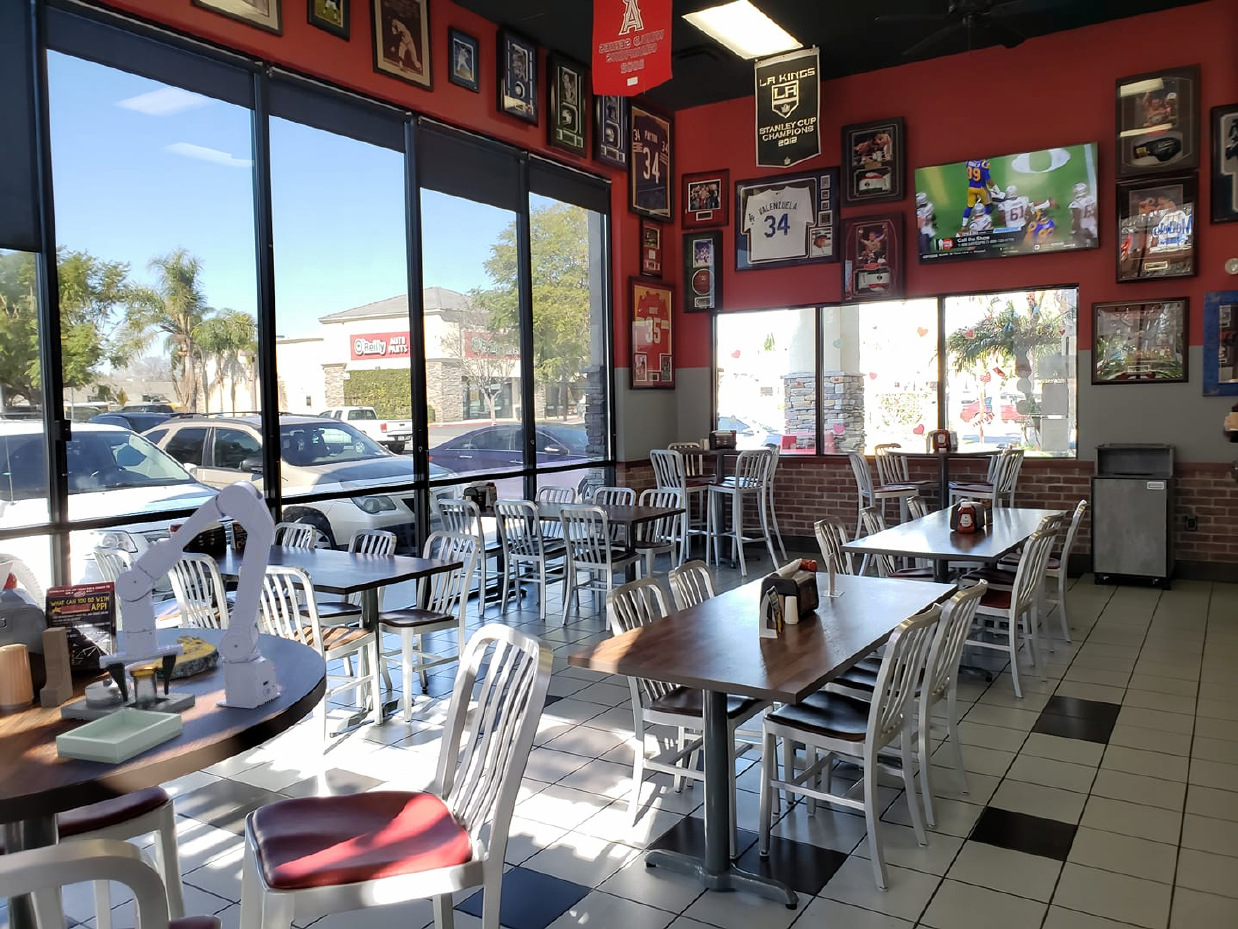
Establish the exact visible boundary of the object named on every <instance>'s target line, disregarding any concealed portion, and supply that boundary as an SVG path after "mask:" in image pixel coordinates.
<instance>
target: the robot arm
mask: <svg viewBox="0 0 1238 929" xmlns="http://www.w3.org/2000/svg"><path fill="white" fill-rule="evenodd" d="M225 517H229V518H231V519H232V520H235V521H237V523H238V524H239V525H240V526H241V527H242V528H243V529H244V531H246V534H247V537H246V542H245V547H244V552H243V557H242V561H241V562H242V563H241V567H240V573H239V577H238V583H237V588H236V593H235V596H234V597H235V598H234V602H233V607H232V611H231V615H230V618H229V621H228V625H227V630H226V632H225V633H224V634H223V635H222V637H220V638H221V639H220V640H219V644H218V645H219V646H218V647H219V653H220V654H221V655H222V656H221V657H222V658H221V663H222V670H223V671H222V672H223V682H224V694H225V698H224V699H221V700H219V701H217V702H215V705H216V706H219V705H222V706H221V707H230V708H231V707H233V708H244V709H255V708H257V706H258V705H260V706H261V705H264V704H266V703H268V702H270V701H272V700H274V699H276V698H278V697H280V696H281V693H280V692H278V687H277V686H278V685H277V677H276V676H277V675H276V667H275V664H274V662H273V661H272V660H270V659H269V658H265V657H263V655H262V653H261V652H262V651H261V650H260V648H258V646H257V643H258V642H259V640H260V637H261V632H260V631H261V630H260V627H259V625H258V622H259V621H258V620H259V617H260V616H259V610H260V603H261V598H262V594H263V593H262V592H263V589H264V584H265V583H264V582H265V577H266V574H267V573H266V572H267V569H268V568H267V567H268V563H269V558H270V554H271V548H272V543H273V537H274V532H275V528H276V527H275V520H274V519H273V517H272V514H271V512H270V510H269V508H268V505H267V503H266V500H265V495H264V494H263V493H262V491H260V489H258V488H257V486H256V485H254V483H252V482H250V481H248V480H241V479H240V480H237V481H234V482H232V483H231V484H230V485H226V486H225V487H223V488H222V489H221V490H220V491H219V492H218V493H216V494H215V495H214V496H212V497H210V498H209V499H208V500H207V501H205V502H204V503H202V504H201V505H200V506H199V508H198V509H196V510H195V511H194V513H192V515H191V516H189V518H188V519H187V520H186V521H185V522H184V523H183V524H181V526H180V527H179V528H178V529H177V530H176V531H175V532H174V533H173V534H172V535H171V536H170V537H169V538H168V537H166V538H164V537H163V538H158V539H157V540H156V541H155V540H152V541H151V542H149V543H148V544H147V546H146V547H147V548H148V549H147V550H146V551H145V552H144V553H143V554H141V555H140V556H139V558H138V559H136V560H131V562H130V563H129V566H130V568H129V569H127V570H125V571H123V572H121V573H119V576H118V577H116V580H115V582H114V590H115V593H116V594H117V596H118V597H119V599H120V600H119V601H120V615H121V624H122V632H123V644H124V651H120V652H115V653H112V654H107V655H106V654H105V655H101V656H99V660H98V662H99V668H100V669H106V668H107V667H108V673H109V675H110V676H111V679H114V681H115V682H116V684H117V685H118V687H119V689H120V691H121V694H122V697H123V700H124V702H128V699H129V698H128V690H127V685H126V679H127V677H126V666H125V664H126V665H127V664H132V663H139V662H145V661H151V660H156V659H159V658H162V667H163V675H164V681H163V692H164V694H165V695H168V694H169V690H170V688H169V687H170V680H171V679H170V677H171V674H172V671H173V668H174V665H175V663H176V656H183V655H184V650H183V644H178V643H177V645H176V644H170V645H169V644H168V645H167V644H166V645H159V643H158V635H157V634H158V633H157V624H156V614H155V604H154V600H153V598H154V597H153V591H152V590H153V589H154V588H155V586H156V583H158V582H160V581H161V580H162V579H163V578H164V577H166V575H167V574H168V573H169V572H170V571H171V570H172V569H173V568H174V567H176V565H177V564H178V563H179V562H180V561H182V559H183V556H184V554H183V549H184V548H185V546H187V545H188V544H189V543H190V542H191V541H192V540H193V539H194V538H195V537H196V536H197V535H199V534H200V533H201V532H202V531H203V530H204V529H205V528H206V527H207V526H209V524H211V523H212V522H213V521H214V522H215V521H218V520H222V519H224V518H225ZM279 695H280V696H279ZM271 699H272V700H271ZM269 700H270V701H269ZM267 701H268V702H267ZM265 702H266V703H265ZM258 707H259V706H258Z"/></svg>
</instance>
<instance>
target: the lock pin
mask: <svg viewBox="0 0 1238 929" xmlns="http://www.w3.org/2000/svg"><path fill="white" fill-rule="evenodd" d="M128 670H129V671H128V672H129V677H130V678H132V681H133V689H134V692H135V702H136V708H137V709H148V708H151V707H153V706H155V705H158V704H159V700H158V683H157V681H158V680H157V679H156V673H157V672H158V665H155V664H153V663H151V664H142V665H138V666H134V667H132V668H130V669H128Z"/></svg>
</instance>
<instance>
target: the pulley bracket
mask: <svg viewBox="0 0 1238 929" xmlns="http://www.w3.org/2000/svg"><path fill="white" fill-rule="evenodd" d="M126 685H127V690H128V698H129V699H128V702H124V700H123V697H122V694H121V691H120V689H119V687H118V685H117V684H116V682H115V681H114V679H113V678H105V679H103V680H100V681H95V682H93V683H91V684H89V685H87V686H86V687H85V688H84V693H85V697H84V698H82V699H79V700H77V701H74V702H72V703H69V704H65V705H64V706H61V707H60V708H59V709H60V716H61V718H63V719H71V718H76V719H75V720H81V719H83V721H91V722H93V721H95V720H98V719H100V718H103V717H105V716H107V715H110V714H112V713H115V712H117V711H120V710H122V709H132V710H142V711H152V712H163V713H173V714H178V713H180V712H182V711H184V710H186V709H189V708H191V707H192V706H191V705H193V706H195V705H196V697H195V696H196V695H195V694H193V693H181V692H169V694H168V695H165V694H164V691H158V700H159V704H158V705H155V706H153V707H151V708H148V709H137V708H136V702H135V692H134V688H132V683H131V679H129V678H126ZM194 704H195V705H194ZM190 706H191V707H190ZM188 707H189V708H188Z"/></svg>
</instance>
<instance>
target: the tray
mask: <svg viewBox="0 0 1238 929" xmlns="http://www.w3.org/2000/svg"><path fill="white" fill-rule="evenodd" d="M182 720H183V718H182V714H181V713H175V714H173V713H163V712H152V711H142V710H132V709H122V710H120V711H117V712H115V713H112V714H110V715H107V716H105V717H103V718H100V719H98V720H95V721H91V722H88V723H86V724H83V725H82V726H79V727H76V728H74V729H72V730H69V731H66V732H64V733H62V734H60V735H57V736H55V742H56V751H57V757H60V758H61V757H62V758H68V759H69V758H70V759H76V760H83V761H85V760H86V761H92V762H101V763H109V764H114V765H115V764H117V765H118V764H121V763H122V762H123V763H124V762H125V761H127V760H130V759H131V758H133V757H135V756H137V755H139V754H142V753H144V752H145V751H148V750H150V749H151V748H154V747H156V746H159V745H160V744H163V743H165V742H166V741H169V740H171V739H173V738H175V737H177V736H180V735H182V734H184V728H183V721H182Z"/></svg>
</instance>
